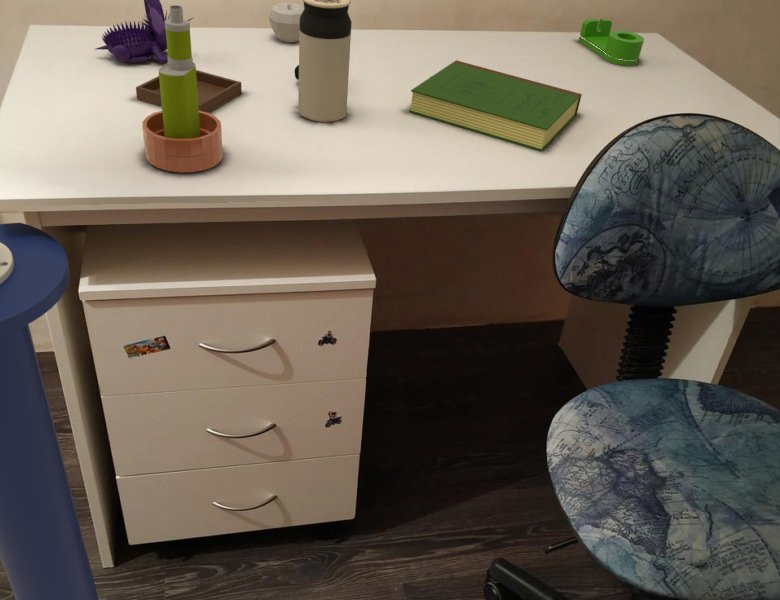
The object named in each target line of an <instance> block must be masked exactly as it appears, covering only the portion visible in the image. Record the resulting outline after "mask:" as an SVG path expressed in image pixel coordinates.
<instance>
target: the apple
mask: <svg viewBox="0 0 780 600" xmlns="http://www.w3.org/2000/svg"><path fill="white" fill-rule="evenodd" d="M303 11H304V5H303V6H302V5H301V4H299V3H293V2H280V3H279V2H278V3H275V4H274V5H273V6H272V7H271V8H270V11H269V15H268V19H269V23H270V26H271V30H272V31H273V33H274V35H275V36H276V37H277V39H278V40H280V41H281V42H285V43H290V44H291V43H296V42H299V31H300V16H301V14H302V12H303Z"/></svg>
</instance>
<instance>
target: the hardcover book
mask: <svg viewBox="0 0 780 600" xmlns="http://www.w3.org/2000/svg"><path fill="white" fill-rule="evenodd" d="M410 92H411V93H412V94H411V95H412V97H411V105H410V109H408V113H411V114H414V115H418V116H421V117H423V118H428V119H431V120H435V121H438V122H441V123H445V124H448V125H452V126H454V127H458V128H462V129H465V130H468V131H472V132H475V133H479V134H482V135H485V136H489V137H492V138H495V139H499V140H502V141H506V142H509V143H511V144H515V145H520V146H523V147H526V148H529V149H532V150H535V151H539V152H544V150H545V149H546V148H547V147H548V146H549V145H550V144H551V143H552V142H553V141H554V140H555V139H556V138H557V137H558V136H559V135H560V134H561V132H562V131H563V130H564V129H565V128H566V127H567V126H568V125H569V124H570V123H571V121H573V119H575V117H576V116H577V115H578V111H579V108H580V103H581V99H582V95H583V94H582V93H580V92H575V91H571V90H568V89H564V88H561V87H557V86H553V85H549V84H546V83H542V82H539V81H535V80H531V79H528V78H523V77H520V76H517V75H512V74H509V73H505V72H501V71H497V70H494V69H490V68H486V67H482V66H479V65H475V64H471V63H468V62H464V61H461V60H457V59H456V60H454V61H452V62H451V63H450V64H448V65H446V67H444V68H442V69H441V70H439V71H438V72H436V73H435V74H433V75H431V76H430V77H429V78H426V79H425V80H424V81H423V82H420V83H419V84H418V85H416V86H415V87H413V88H412V89H411V90H410Z"/></svg>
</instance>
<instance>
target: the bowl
mask: <svg viewBox="0 0 780 600" xmlns="http://www.w3.org/2000/svg"><path fill="white" fill-rule="evenodd" d="M199 124H200V137H198V138H191V139H174V138H167V137H165V133H164V123H163V112H162V110H159V111H155V112H152V113H151V114H149V115H147V116H146V117H145V118H144V119H143V121H142V125H141V126H142V127H141V128H142V135H143V143H144V154H145V159H146V160H147V161H148V163H149V164H150V165H152V166H154V167H156V168H157V169H160V170H163V171H168V172H173V173H194V172H195V173H197V172H202V171H206V170H209V169H212V168H214V167H215V166H217V165H218V164H220V163H221V161H222V159H223V158H224V155H223V153H224V151H223V132H222V122H221V121H220V119H218V117H217V116H215V115H213V114H211V113H210V112H209V113H206V112H203V111H199Z"/></svg>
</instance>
